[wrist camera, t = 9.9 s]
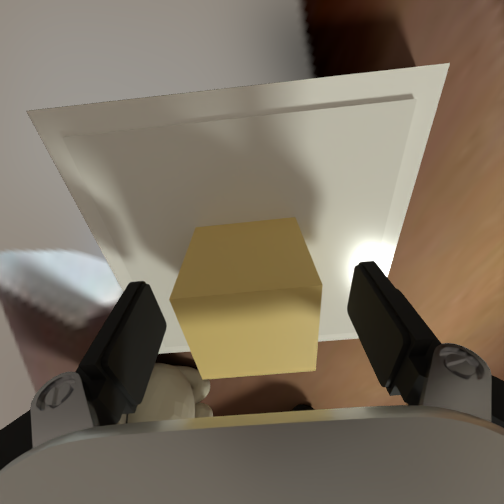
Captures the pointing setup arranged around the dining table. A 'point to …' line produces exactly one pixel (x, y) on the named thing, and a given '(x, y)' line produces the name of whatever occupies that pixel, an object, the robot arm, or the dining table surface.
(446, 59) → the dining table surface
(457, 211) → the dining table surface
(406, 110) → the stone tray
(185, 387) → the decorative object
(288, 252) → the mustard cube
